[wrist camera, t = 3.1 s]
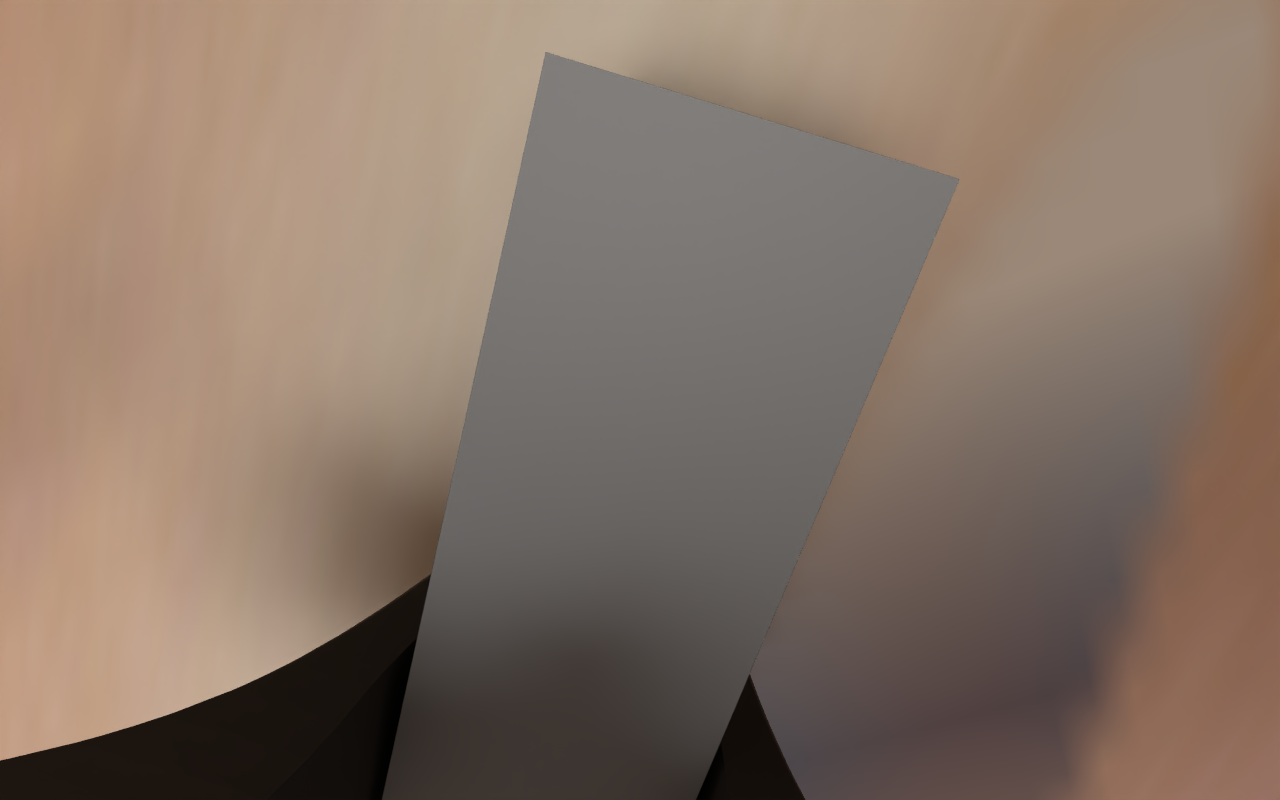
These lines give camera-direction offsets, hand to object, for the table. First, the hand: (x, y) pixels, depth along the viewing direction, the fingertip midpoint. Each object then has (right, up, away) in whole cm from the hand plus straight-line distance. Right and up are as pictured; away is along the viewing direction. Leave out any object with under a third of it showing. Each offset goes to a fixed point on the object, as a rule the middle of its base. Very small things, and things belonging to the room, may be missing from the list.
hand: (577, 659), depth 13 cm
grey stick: (0, +1, +2) cm, 2 cm away
